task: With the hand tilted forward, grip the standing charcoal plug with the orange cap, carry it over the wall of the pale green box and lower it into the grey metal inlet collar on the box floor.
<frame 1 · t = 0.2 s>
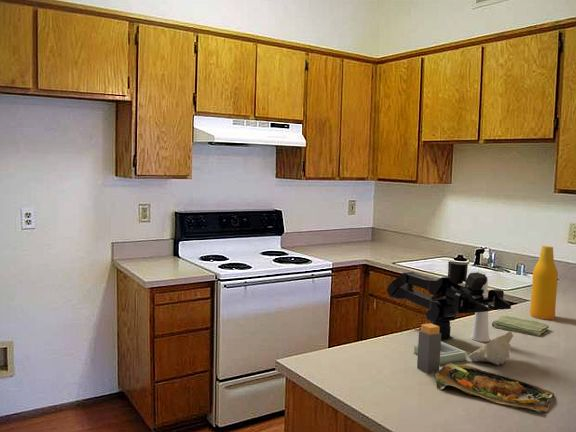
hand: (499, 308, 160), 17 cm above the worktop, tool horizontal, fingers open, 9 cm apart
washcloth: (519, 330, 199), on the worktop
plug: (428, 369, 154), on the worktop
prepared meal: (492, 392, 141), on the worktop
cheese: (493, 360, 163), on the worktop
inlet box: (439, 356, 165), on the worktop
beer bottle: (542, 317, 216), on the worktop
cosmetic bottle: (480, 339, 184), on the worktop
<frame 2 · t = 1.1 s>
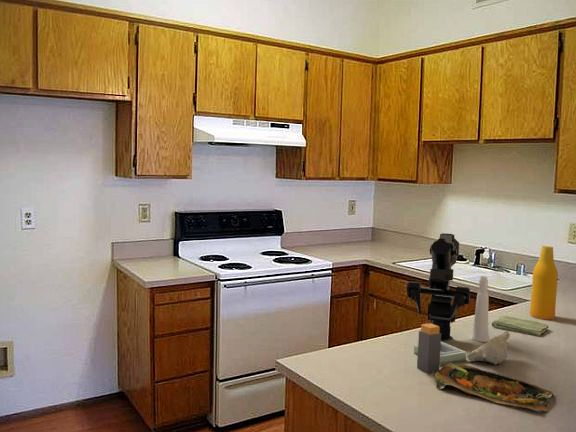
hand: (435, 315, 160), 14 cm above the worktop, tool tilted 45°, fingers open, 9 cm apart
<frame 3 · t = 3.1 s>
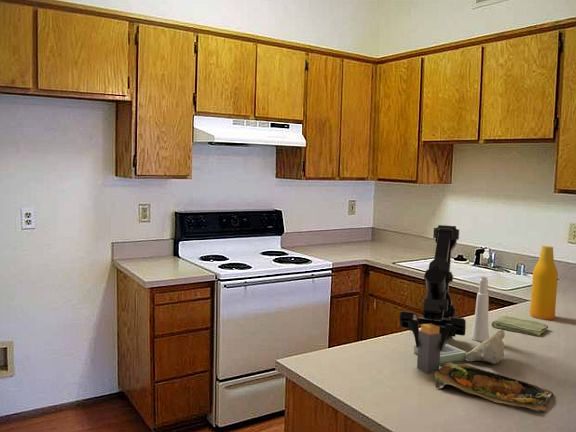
hand: (428, 348, 152), 7 cm above the worktop, tool tilted 45°, fingers closed on plug, 6 cm apart
plug: (427, 369, 154), on the worktop, touching gripper
cheese: (487, 359, 164), on the worktop
everything else where it was.
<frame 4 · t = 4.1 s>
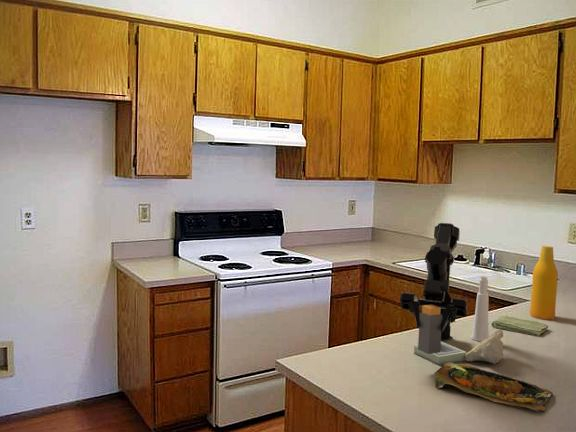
hand: (429, 329, 151), 12 cm above the worktop, tool tilted 45°, fingers closed on plug, 6 cm apart
plug: (429, 350, 153), point 6 cm above the worktop, touching gripper
everything else where it was.
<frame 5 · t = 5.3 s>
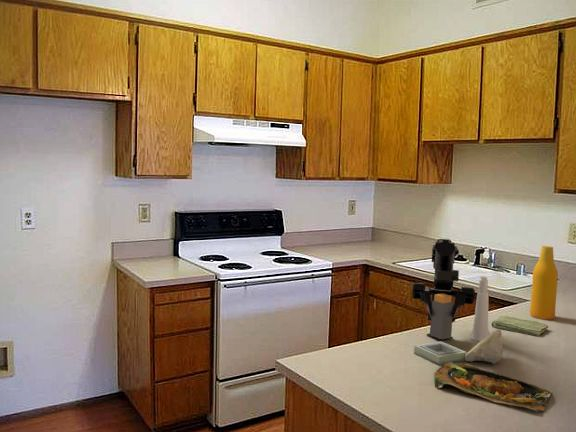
hand: (441, 316, 162), 13 cm above the worktop, tool tilted 45°, fingers closed on plug, 6 cm apart
plug: (440, 336, 164), point 6 cm above the worktop, touching gripper
everything else where it was.
when the fingers open (8 cm above the worktop, at t = 6.5 s): plug drops 1 cm, resting on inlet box.
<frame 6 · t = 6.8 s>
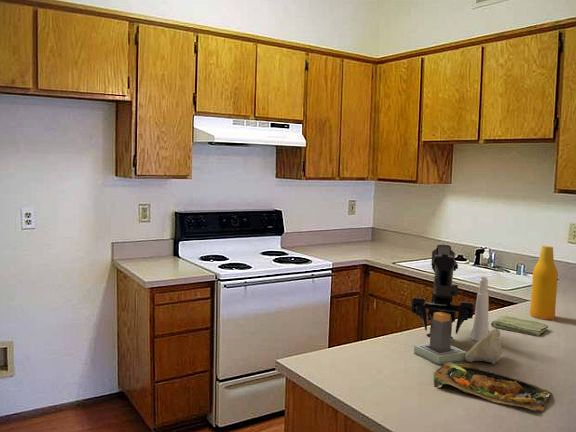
hand: (441, 331, 163), 8 cm above the worktop, tool tilted 45°, fingers open, 9 cm apart
plug: (439, 354, 165), point 1 cm above the worktop, touching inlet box
everything else where it was.
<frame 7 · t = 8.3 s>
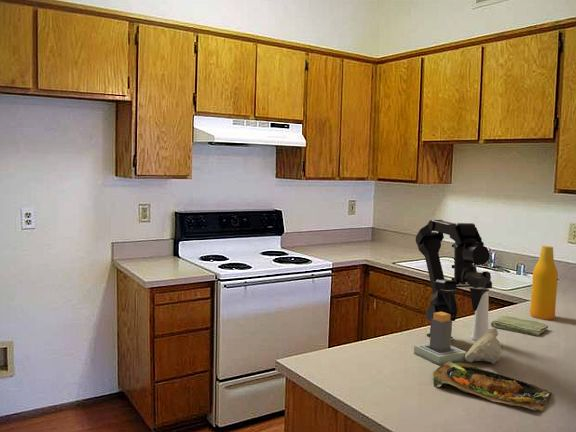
hand: (463, 311, 169), 13 cm above the worktop, tool pointing down, fingers open, 9 cm apart
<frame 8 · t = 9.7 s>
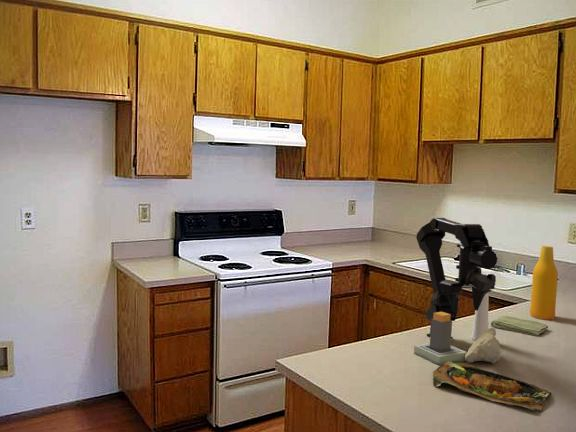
hand: (465, 311, 170), 13 cm above the worktop, tool pointing down, fingers open, 9 cm apart
at the end: plug 0.1 cm off-centre on the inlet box, point 0.6 cm above the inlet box's base; plug tilted 0°; the gripper is holding nothing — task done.
